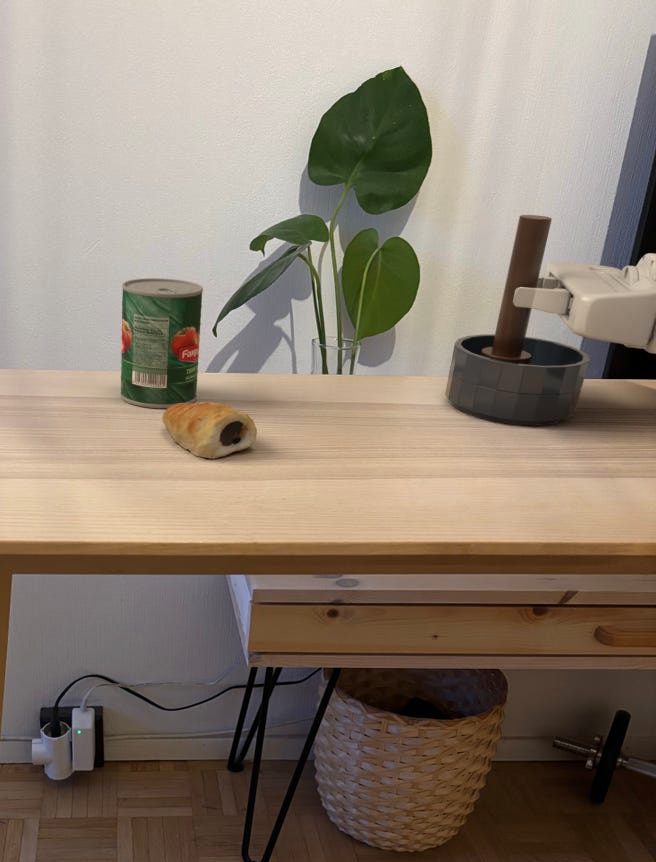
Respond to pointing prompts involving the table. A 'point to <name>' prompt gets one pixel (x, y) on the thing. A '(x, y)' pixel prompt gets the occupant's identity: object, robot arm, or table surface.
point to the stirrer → (520, 273)
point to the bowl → (516, 381)
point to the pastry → (209, 428)
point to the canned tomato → (160, 341)
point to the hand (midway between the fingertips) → (510, 291)
